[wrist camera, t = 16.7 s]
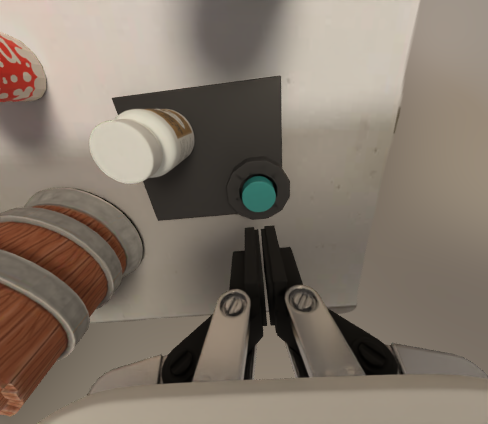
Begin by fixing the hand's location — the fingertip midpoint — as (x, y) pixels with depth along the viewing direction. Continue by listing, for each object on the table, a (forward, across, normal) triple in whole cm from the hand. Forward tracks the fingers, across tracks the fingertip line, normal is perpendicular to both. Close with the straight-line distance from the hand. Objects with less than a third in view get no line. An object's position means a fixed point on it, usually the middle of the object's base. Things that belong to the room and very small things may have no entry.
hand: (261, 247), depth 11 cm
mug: (+11, +24, +6) cm, 27 cm away
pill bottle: (+10, +7, -6) cm, 13 cm away
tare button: (+8, 0, 0) cm, 8 cm away
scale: (+11, +4, -3) cm, 12 cm away
